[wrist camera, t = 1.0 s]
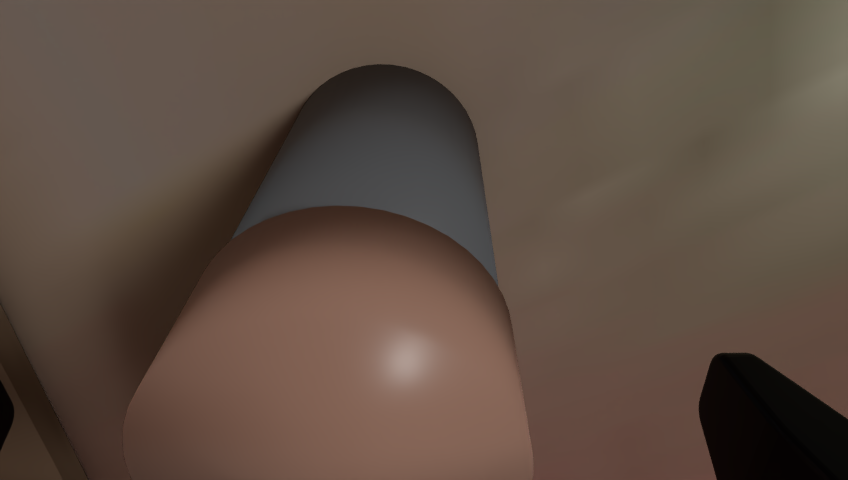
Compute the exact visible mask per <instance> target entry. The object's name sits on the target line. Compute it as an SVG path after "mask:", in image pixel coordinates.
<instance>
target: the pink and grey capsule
mask: <svg viewBox="0 0 848 480" xmlns="http://www.w3.org/2000/svg"><path fill="white" fill-rule="evenodd" d="M122 446H123V453H124V460H125V463H126V466H127V469H128V472H129V474H130V477H131V479H132V480H533V452H532V446H531V440H530V434H529V428H528V422H527V415H526V409H525V403H524V397H523V391H522V385H521V378H520V372H519V366H518V360H517V354H516V348H515V341H514V335H513V329H512V324H511V319H510V314H509V310H508V307H507V305H506V302H505V299H504V297H503V294H502V293H501V291H500V289H499V287H498V280H497V274H496V267H495V260H494V253H493V246H492V239H491V232H490V225H489V218H488V212H487V205H486V198H485V191H484V184H483V177H482V170H481V163H480V156H479V150H478V143H477V138H476V133H475V130H474V127H473V124H472V121H471V120H470V118H469V116H468V114H467V112H466V110H465V109H464V107H463V106H462V104H461V103H460V101H459V100H458V99H457V98H456V97H455V96H454V95H453V94H452V93H451V92H450V91H449V90H448V89H447V88H446V87H444V86H443V85H442V84H441V83H439V82H438V81H436V80H434V79H433V78H431V77H430V76H427V75H425V74H423V73H421V72H419V71H416V70H413V69H409V68H406V67H401V66H396V65H382V64H377V65H366V66H362V67H357V68H353V69H350V70H348V71H345V72H342V73H340V74H338V75H336V76H335V77H333V78H331V79H329V80H328V81H327V82H325V83H324V84H323V85H321V86H320V87H319V88H318V89H317V90H316V91H315V92H314V93H313V94H312V95H311V96H310V98H309V99H308V100H307V102H306V103H305V104H304V106H303V108H302V110H301V112H300V114H299V115H298V117H297V119H296V121H295V123H294V125H293V127H292V128H291V130H290V132H289V134H288V136H287V138H286V139H285V141H284V143H283V145H282V147H281V149H280V150H279V152H278V154H277V156H276V158H275V160H274V161H273V163H272V165H271V167H270V169H269V171H268V173H267V174H266V176H265V178H264V180H263V182H262V184H261V185H260V187H259V189H258V191H257V193H256V195H255V196H254V198H253V200H252V202H251V204H250V206H249V207H248V209H247V211H246V213H245V215H244V217H243V218H242V220H241V222H240V224H239V226H238V228H237V230H236V231H235V233H234V235H233V237H232V239H231V241H230V242H229V243H228V244H226V245H225V246H224V247H223V248H222V249H221V250H220V251H219V252H218V253H217V254H216V255H215V257H214V258H213V259H212V261H211V262H210V263H209V264H208V266H207V267H206V269H205V270H204V272H203V274H202V276H201V277H200V279H199V281H198V283H197V284H196V286H195V288H194V290H193V291H192V293H191V295H190V297H189V299H188V300H187V302H186V304H185V306H184V307H183V309H182V311H181V313H180V314H179V316H178V318H177V320H176V321H175V323H174V325H173V327H172V328H171V330H170V332H169V334H168V336H167V337H166V339H165V341H164V343H163V344H162V346H161V348H160V350H159V351H158V353H157V355H156V357H155V358H154V360H153V362H152V364H151V365H150V367H149V369H148V371H147V373H146V374H145V376H144V378H143V380H142V381H141V383H140V385H139V387H138V388H137V390H136V392H135V394H134V396H133V398H132V400H131V402H130V404H129V405H128V408H127V412H126V415H125V419H124V422H123V433H122Z"/></svg>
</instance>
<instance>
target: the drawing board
mask: <svg viewBox="0 0 848 480" xmlns="http://www.w3.org/2000/svg"><path fill="white" fill-rule="evenodd" d="M0 380H1V382H2V384H3V386H4V387H5V389H6V391H7V393H8V395H9V397H10V399H11V400H12V403H13V405H14V420H13V423H12V426H11V428H10V431H9V433H8V435H7V438H6V440H5V442H4V444H3V447H2V449H1V451H0V480H88V479H87V477H86V475H85V473H84V471H83V469H82V467H81V465H80V463H79V461H78V459H77V457H76V455H75V452H74V450H73V448H72V446H71V444H70V442H69V440H68V438H67V436H66V434H65V432H64V430H63V428H62V426H61V424H60V422H59V420H58V418H57V416H56V414H55V412H54V410H53V408H52V406H51V404H50V402H49V400H48V398H47V396H46V394H45V392H44V390H43V388H42V386H41V384H40V382H39V380H38V378H37V376H36V374H35V372H34V370H33V368H32V366H31V364H30V362H29V360H28V358H27V356H26V354H25V352H24V350H23V348H22V346H21V344H20V342H19V340H18V338H17V336H16V334H15V332H14V330H13V328H12V326H11V324H10V322H9V320H8V318H7V316H6V314H5V312H4V310H3V308H2V306H1V304H0Z"/></svg>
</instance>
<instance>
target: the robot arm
mask: <svg viewBox="0 0 848 480" xmlns="http://www.w3.org/2000/svg"><path fill="white" fill-rule="evenodd" d="M699 417H700V421H701V425H702V429H703V432H704V436H705V439H706V443H707V446H708V450H709V453H710V457H711V460H712V464H713V467H714V471H715V475H716V478H717V480H848V419H847V418H845V417H844V416H843V415H841V414H840V413H838V412H837V411H835V410H834V409H832V408H831V407H829V406H828V405H827V404H825V403H824V402H822V401H821V400H819V399H818V398H816V397H815V396H813V395H812V394H811V393H809V392H808V391H806V390H805V389H803V388H802V387H800V386H799V385H797V384H796V383H795V382H793V381H792V380H790V379H789V378H787V377H786V376H784V375H783V374H781V373H780V372H779V371H777V370H776V369H774V368H773V367H771V366H770V365H768V364H767V363H765V362H764V361H763V360H761V359H760V358H758V357H756V356H755V355H753V354H750V353H720V354H717V355H715V356H714V357H713V359H712V361H711V363H710V366H709V370H708V373H707V376H706V380H705V383H704V386H703V390H702V393H701V397H700V401H699ZM13 420H14V405H13V403H12V400H11V399H10V397H9V395H8V393H7V391H6V389H5V387H4V386H3V384H2V382H1V380H0V451H1V449H2V447H3V444H4V442H5V440H6V438H7V435H8V433H9V431H10V428H11V426H12V423H13Z"/></svg>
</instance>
